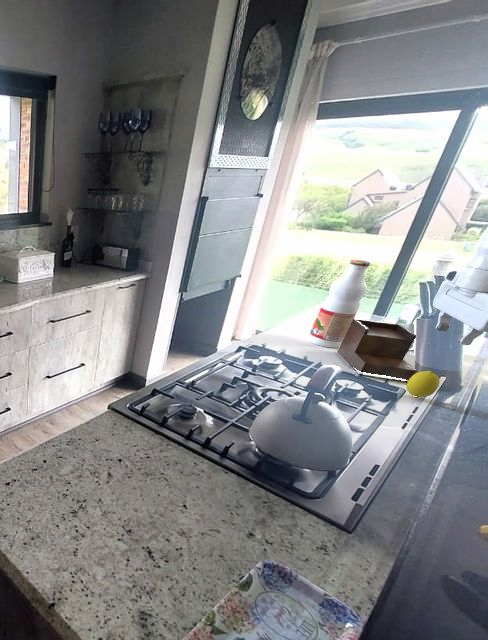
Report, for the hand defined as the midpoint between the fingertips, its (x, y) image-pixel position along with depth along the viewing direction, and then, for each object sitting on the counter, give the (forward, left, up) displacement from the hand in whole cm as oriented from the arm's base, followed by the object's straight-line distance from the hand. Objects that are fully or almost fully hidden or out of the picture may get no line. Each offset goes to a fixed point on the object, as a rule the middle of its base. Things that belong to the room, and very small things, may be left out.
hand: (451, 336), depth 99 cm
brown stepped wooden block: (+3, -19, -18) cm, 26 cm away
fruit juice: (+11, -35, -18) cm, 41 cm away
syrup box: (-13, -42, -18) cm, 48 cm away
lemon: (0, 0, -18) cm, 18 cm away
